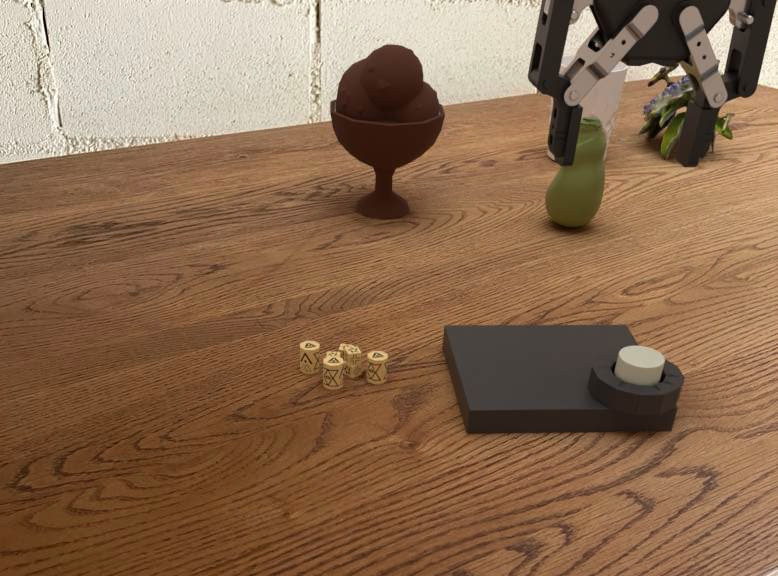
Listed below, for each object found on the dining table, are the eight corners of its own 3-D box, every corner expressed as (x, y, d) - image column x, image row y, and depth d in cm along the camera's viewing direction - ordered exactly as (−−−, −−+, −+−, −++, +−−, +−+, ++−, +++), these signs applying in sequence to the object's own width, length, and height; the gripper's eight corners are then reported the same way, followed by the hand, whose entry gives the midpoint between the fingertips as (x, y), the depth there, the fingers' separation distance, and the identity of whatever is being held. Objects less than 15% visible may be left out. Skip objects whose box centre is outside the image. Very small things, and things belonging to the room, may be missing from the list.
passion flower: (641, 185, 117) (654, 88, 116) (732, 183, 113) (746, 82, 112) (627, 151, 107) (641, 45, 106) (728, 148, 102) (743, 36, 102)
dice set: (390, 382, 66) (392, 358, 65) (327, 398, 64) (327, 374, 63) (356, 351, 70) (357, 327, 68) (295, 366, 67) (294, 342, 66)
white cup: (527, 154, 108) (540, 59, 101) (570, 142, 112) (585, 50, 105) (581, 172, 103) (598, 75, 97) (623, 159, 107) (642, 65, 101)
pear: (583, 240, 88) (603, 129, 82) (532, 227, 90) (548, 118, 84) (604, 222, 92) (625, 115, 85) (554, 210, 94) (572, 105, 87)
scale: (626, 346, 72) (636, 304, 69) (682, 439, 62) (696, 393, 60) (442, 347, 70) (446, 304, 68) (469, 442, 61) (474, 396, 58)
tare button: (651, 365, 63) (656, 345, 62) (665, 388, 61) (671, 367, 60) (608, 365, 63) (613, 345, 62) (621, 388, 61) (626, 367, 60)
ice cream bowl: (456, 205, 94) (472, 41, 84) (396, 238, 87) (406, 62, 77) (370, 182, 98) (375, 23, 89) (306, 212, 91) (304, 42, 82)
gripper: (584, -139, 48) (535, 182, 58) (842, -127, 49) (750, 183, 60) (545, -148, 53) (507, 145, 64) (777, -137, 55) (703, 147, 65)
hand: (625, 163), depth 62 cm, fingers open, 8 cm apart
